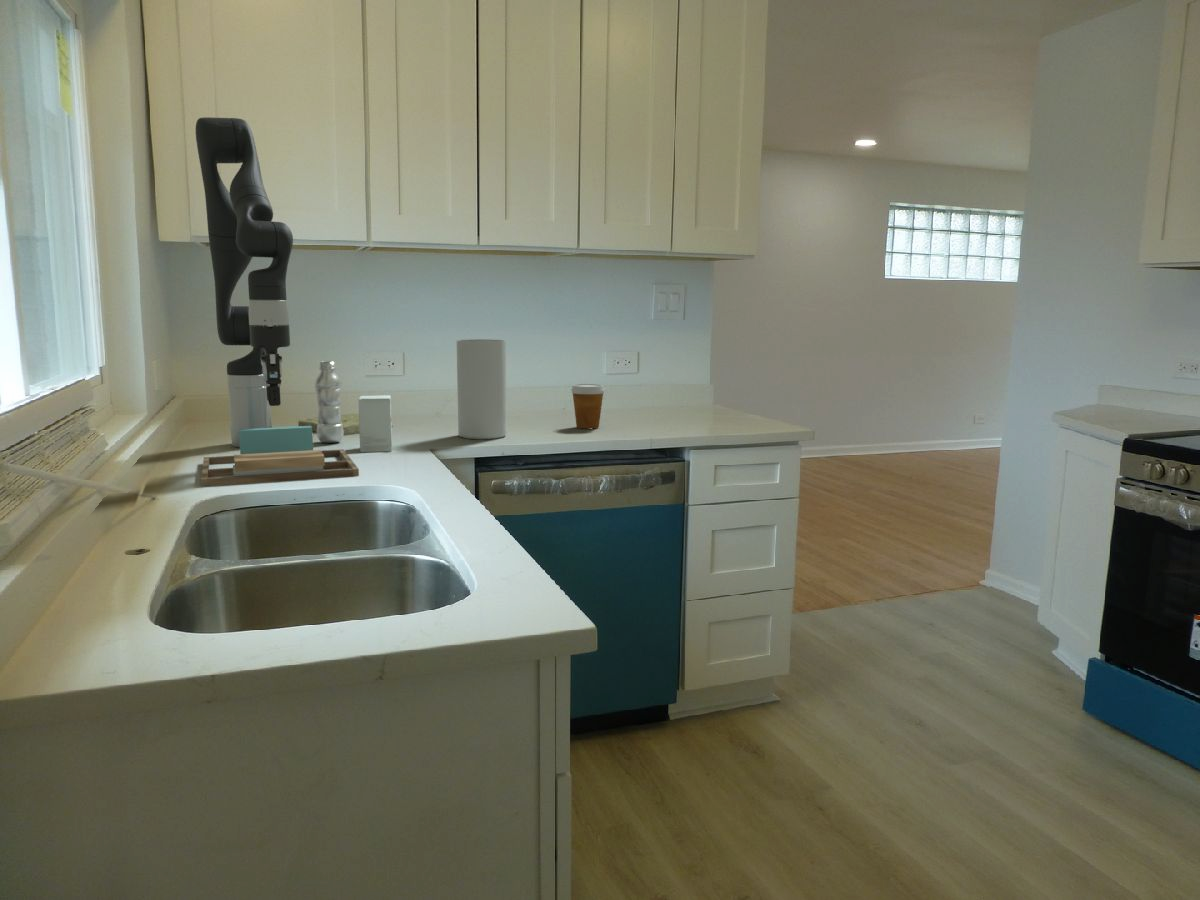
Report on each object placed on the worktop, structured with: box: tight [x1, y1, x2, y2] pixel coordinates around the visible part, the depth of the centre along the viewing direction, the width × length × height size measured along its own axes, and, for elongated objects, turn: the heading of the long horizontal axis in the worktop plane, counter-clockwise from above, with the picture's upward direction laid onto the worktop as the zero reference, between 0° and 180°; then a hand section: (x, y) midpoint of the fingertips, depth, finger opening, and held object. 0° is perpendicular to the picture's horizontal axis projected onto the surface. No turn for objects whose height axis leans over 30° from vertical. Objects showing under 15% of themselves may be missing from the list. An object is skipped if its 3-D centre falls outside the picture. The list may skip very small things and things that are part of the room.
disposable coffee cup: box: [570, 383, 606, 429], centre depth 241 cm, size 10×10×12 cm
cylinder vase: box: [456, 338, 507, 440], centre depth 223 cm, size 12×12×25 cm
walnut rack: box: [200, 448, 360, 488], centre depth 172 cm, size 24×28×2 cm
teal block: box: [239, 425, 314, 455], centre depth 176 cm, size 2×14×9 cm, turn 113°
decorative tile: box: [297, 413, 393, 437], centre depth 236 cm, size 18×20×4 cm
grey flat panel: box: [232, 464, 324, 476], centre depth 166 cm, size 7×16×2 cm, turn 114°
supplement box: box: [357, 394, 393, 453], centre depth 202 cm, size 7×7×13 cm
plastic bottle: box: [314, 360, 344, 444], centre depth 211 cm, size 6×7×20 cm
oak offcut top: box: [233, 449, 326, 472], centre depth 166 cm, size 7×16×2 cm, turn 114°
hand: (273, 403), depth 175 cm, fingers open, 8 cm apart
